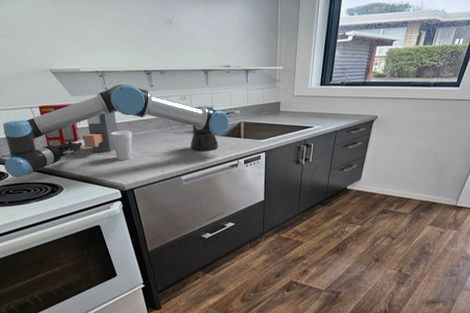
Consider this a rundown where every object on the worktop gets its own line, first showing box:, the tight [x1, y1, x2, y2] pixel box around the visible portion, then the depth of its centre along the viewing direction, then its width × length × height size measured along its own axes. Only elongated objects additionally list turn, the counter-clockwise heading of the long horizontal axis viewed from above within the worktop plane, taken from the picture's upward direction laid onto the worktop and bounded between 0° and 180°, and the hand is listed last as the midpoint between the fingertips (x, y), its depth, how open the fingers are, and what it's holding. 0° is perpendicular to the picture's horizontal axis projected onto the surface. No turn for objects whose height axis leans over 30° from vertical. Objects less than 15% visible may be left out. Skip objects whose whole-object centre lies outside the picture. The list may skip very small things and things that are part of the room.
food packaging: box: [38, 103, 82, 151], centre depth 147 cm, size 15×5×25 cm, turn 106°
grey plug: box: [86, 114, 102, 124], centre depth 144 cm, size 13×6×6 cm, turn 175°
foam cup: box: [110, 130, 133, 161], centre depth 131 cm, size 10×9×13 cm
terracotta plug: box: [81, 133, 104, 148], centre depth 141 cm, size 13×6×6 cm, turn 175°
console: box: [87, 112, 118, 153], centre depth 147 cm, size 10×10×24 cm
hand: (82, 142), depth 130 cm, fingers closed
